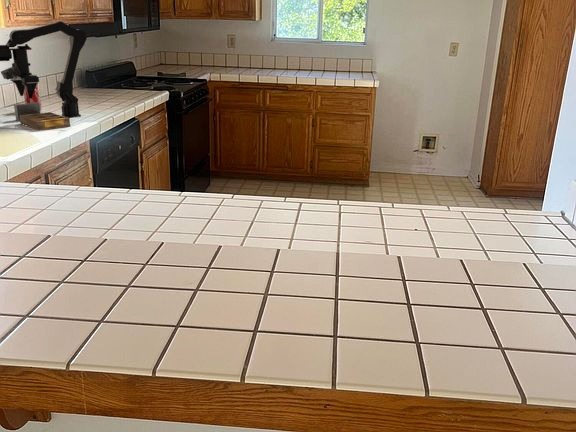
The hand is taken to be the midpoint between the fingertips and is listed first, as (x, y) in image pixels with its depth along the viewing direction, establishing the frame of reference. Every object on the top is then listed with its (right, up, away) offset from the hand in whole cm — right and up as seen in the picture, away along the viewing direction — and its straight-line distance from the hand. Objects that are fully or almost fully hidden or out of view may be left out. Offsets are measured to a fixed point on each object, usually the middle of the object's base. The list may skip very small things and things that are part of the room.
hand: (26, 97), depth 249 cm
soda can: (-6, -2, +22) cm, 23 cm away
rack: (+12, -14, -8) cm, 20 cm away
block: (0, -9, +3) cm, 10 cm away
